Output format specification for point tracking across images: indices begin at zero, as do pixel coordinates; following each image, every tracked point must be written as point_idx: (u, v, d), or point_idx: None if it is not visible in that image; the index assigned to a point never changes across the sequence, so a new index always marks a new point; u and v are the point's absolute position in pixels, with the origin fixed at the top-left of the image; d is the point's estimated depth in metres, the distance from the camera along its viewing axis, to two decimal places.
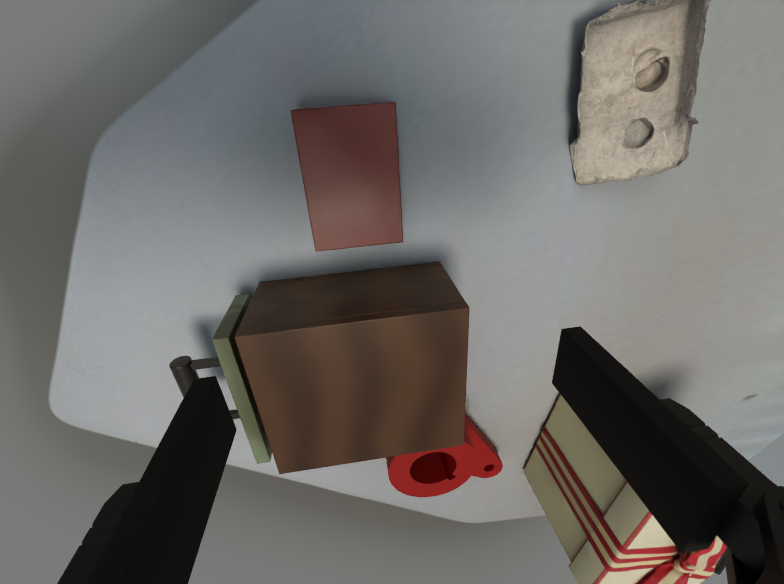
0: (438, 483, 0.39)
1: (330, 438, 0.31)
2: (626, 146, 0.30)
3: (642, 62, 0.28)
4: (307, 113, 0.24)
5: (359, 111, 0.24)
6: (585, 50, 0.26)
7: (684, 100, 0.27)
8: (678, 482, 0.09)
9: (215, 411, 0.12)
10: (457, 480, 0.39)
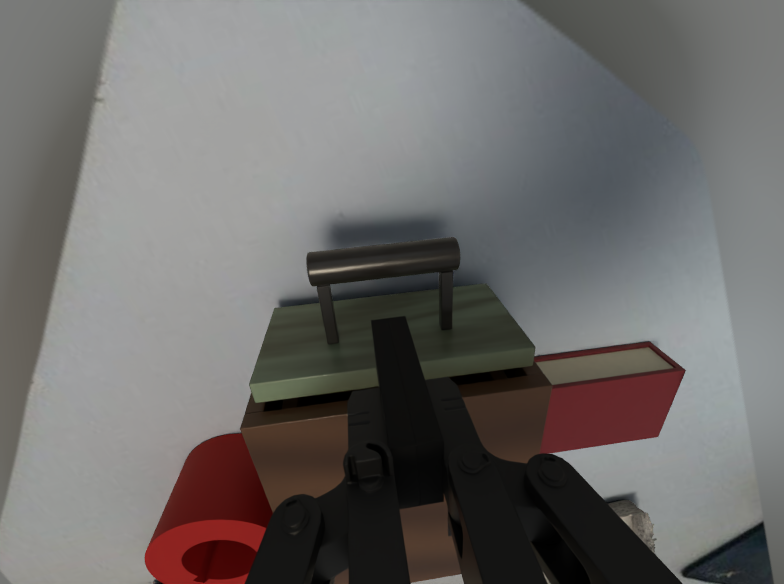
0: (183, 571, 0.25)
1: (333, 485, 0.19)
2: None
3: None
4: (677, 381, 0.26)
5: (662, 415, 0.28)
6: (631, 515, 0.37)
7: None
8: None
9: None
10: None
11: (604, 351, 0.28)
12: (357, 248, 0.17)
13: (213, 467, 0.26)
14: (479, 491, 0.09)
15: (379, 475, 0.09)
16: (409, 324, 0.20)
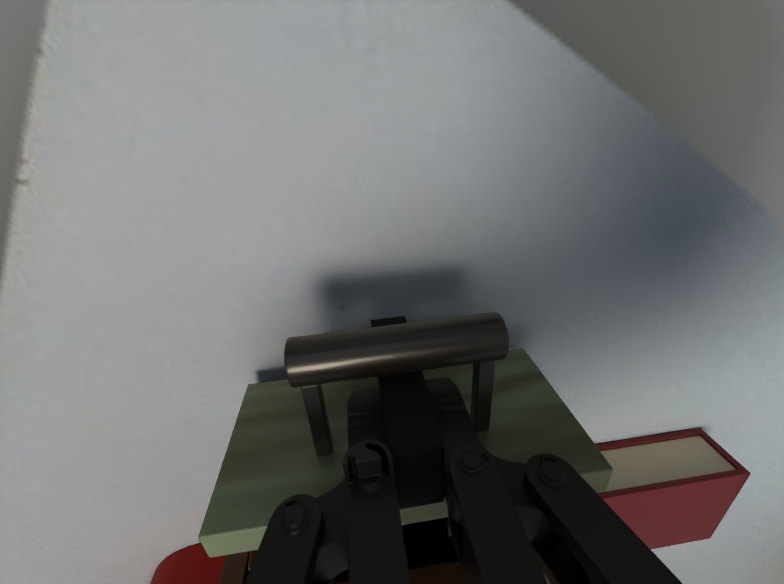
0: None
1: None
2: None
3: None
4: (740, 485, 0.22)
5: (718, 518, 0.24)
6: None
7: None
8: None
9: None
10: None
11: (649, 441, 0.24)
12: (359, 333, 0.11)
13: None
14: (479, 491, 0.09)
15: (379, 475, 0.09)
16: None
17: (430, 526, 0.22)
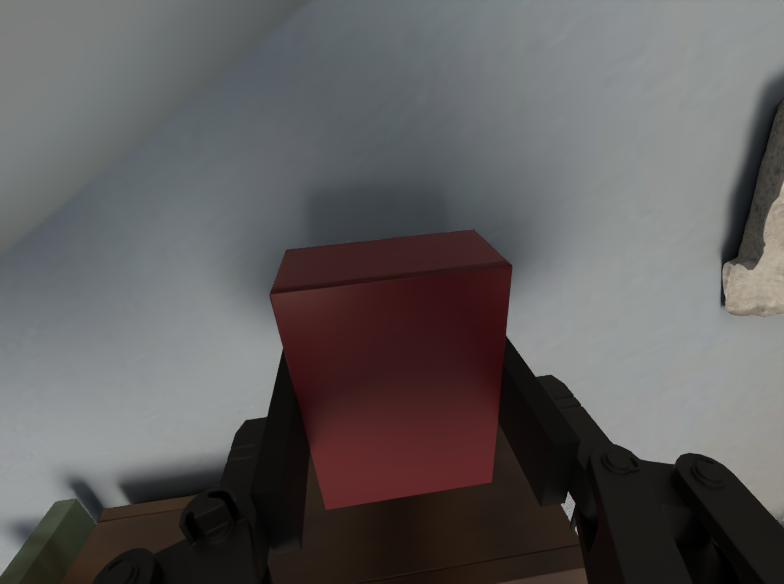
0: None
1: None
2: None
3: None
4: (309, 298, 0.10)
5: (429, 287, 0.10)
6: None
7: None
8: (535, 443, 0.10)
9: None
10: None
11: None
12: None
13: None
14: (624, 491, 0.08)
15: (228, 522, 0.08)
16: None
17: None
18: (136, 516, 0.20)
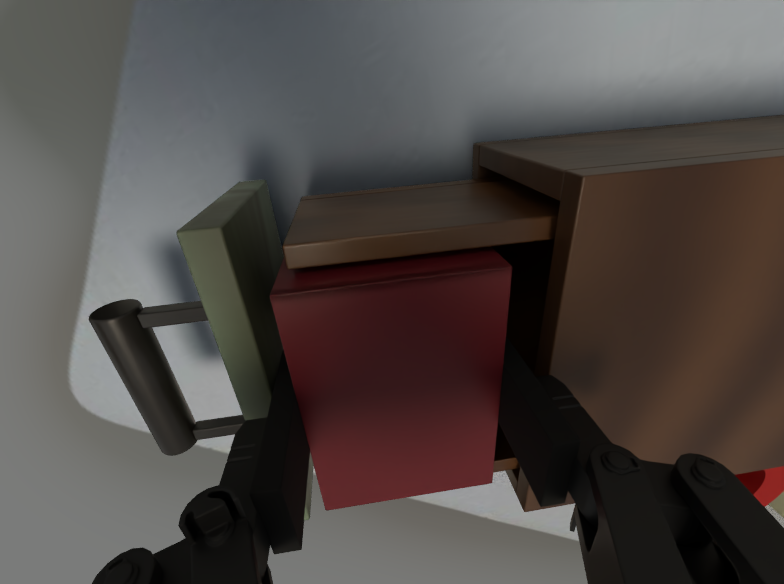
0: None
1: (648, 442, 0.15)
2: None
3: None
4: (309, 299, 0.10)
5: (429, 288, 0.10)
6: None
7: None
8: (535, 443, 0.10)
9: None
10: None
11: None
12: None
13: None
14: (624, 491, 0.08)
15: (228, 523, 0.08)
16: None
17: None
18: (350, 196, 0.15)
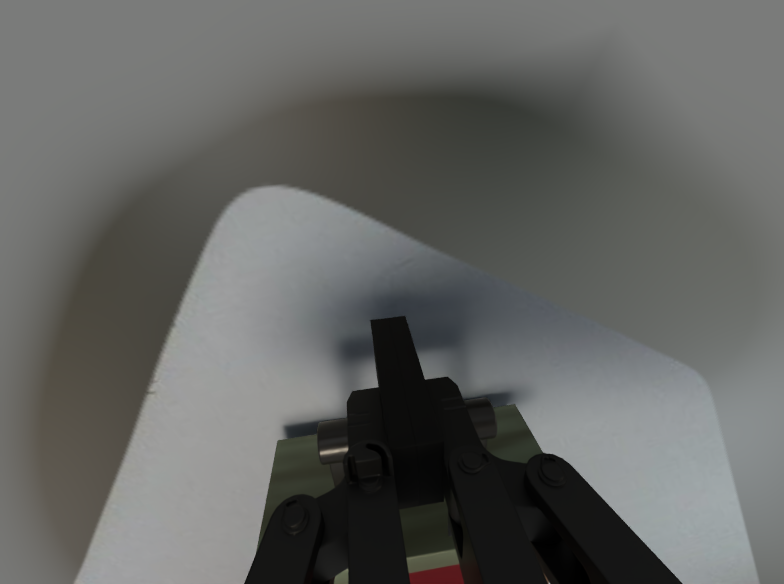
0: None
1: None
2: None
3: None
4: None
5: None
6: None
7: None
8: None
9: None
10: None
11: None
12: None
13: None
14: (479, 491, 0.09)
15: (379, 475, 0.09)
16: None
17: None
18: None
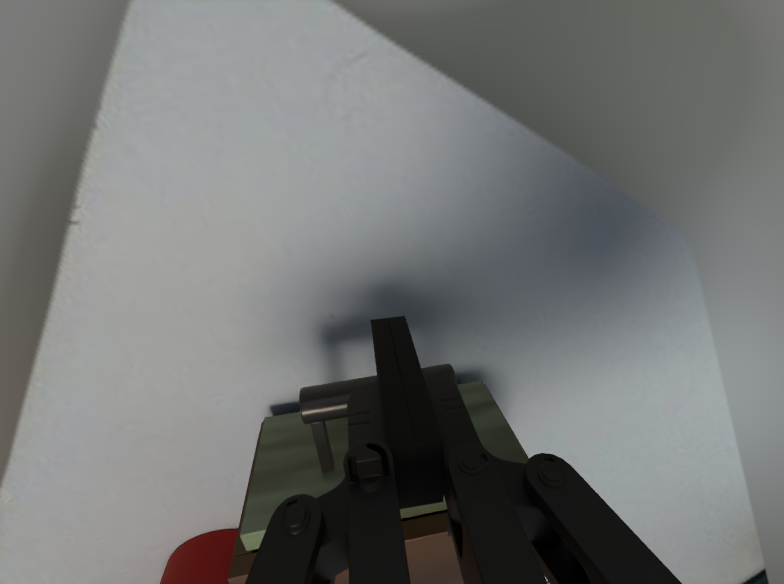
0: None
1: None
2: None
3: None
4: None
5: None
6: None
7: None
8: None
9: None
10: None
11: None
12: (351, 384, 0.16)
13: (197, 576, 0.24)
14: (479, 491, 0.09)
15: (379, 475, 0.09)
16: None
17: None
18: None
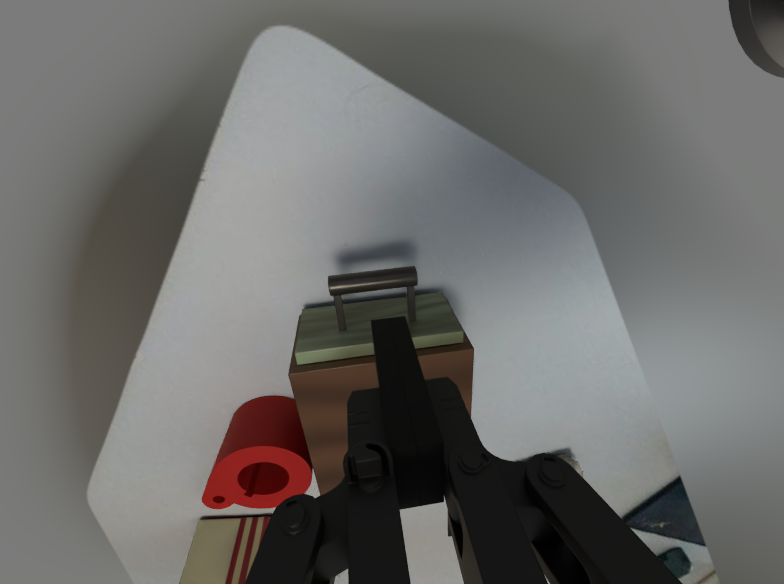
0: (237, 487, 0.36)
1: (342, 414, 0.30)
2: None
3: None
4: None
5: None
6: None
7: None
8: None
9: None
10: (243, 499, 0.37)
11: None
12: (357, 273, 0.28)
13: (256, 416, 0.37)
14: (479, 491, 0.09)
15: (379, 475, 0.09)
16: None
17: None
18: None
